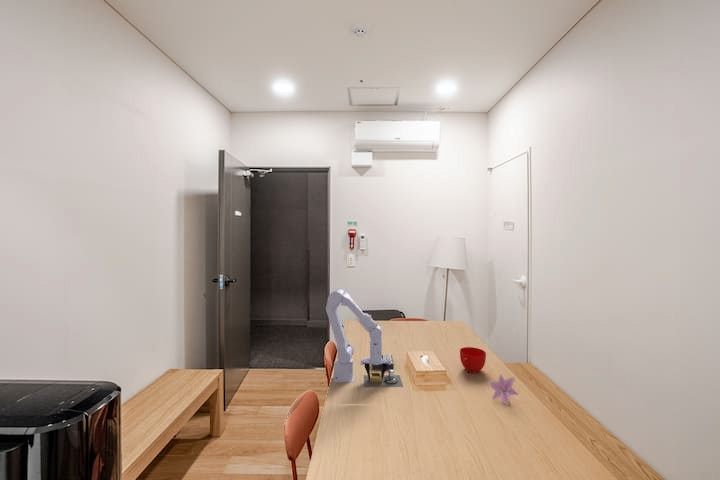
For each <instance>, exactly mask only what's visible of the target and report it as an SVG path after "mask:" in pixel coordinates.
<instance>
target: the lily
mask: <svg viewBox="0 0 720 480" xmlns="http://www.w3.org/2000/svg"><path fill="white" fill-rule="evenodd" d="M515 380H516V377H514V376H513V377H509V378H507V379H505V377H503V375H502V374H499V376H498V379H497V381H496V380H495V381H494V380H493V381H492V380H491V381H488V382H487V384H488V386H489V387H490V388H491V389H493V390H494V393H493V396H492V399H493V400H495V399H499V398H500V399H501V401H502V402H503V404H504V405H505V406H506V407H507V406H509V402H510V397H511V396H519V393H518V392H517V391H516V390H515V389H513V385H514V383H515Z"/></svg>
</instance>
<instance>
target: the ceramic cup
mask: <svg viewBox="0 0 720 480" xmlns="http://www.w3.org/2000/svg"><path fill="white" fill-rule="evenodd" d="M486 358H487V352H486V351H485V350H483V349H480V348H478V347H474V346H473V347H471V346H469V347H467V346H466V347H461V348H460V349H459V359H460V362H461V365H462V366H463V367H462V368H464V369H465V370H466V371H467V373H470V374H471V373H472V374H478V373H480V371H482V369H483V368H484V367H485V365H486V360H487V359H486Z"/></svg>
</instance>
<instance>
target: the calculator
mask: <svg viewBox="0 0 720 480" xmlns="http://www.w3.org/2000/svg"><path fill="white" fill-rule="evenodd" d="M382 359H391V365H389V364H387V369H386V371H388V370H390V369H392V370H394V369H395V367H394V366H395V365H394V361H393V355H392V354H388V353H383V354H382ZM371 366H372V370H373V371H374V370H376V371H377V370H379V371H381V364H378V365H374V364H371ZM394 371H395V370H394Z"/></svg>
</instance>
